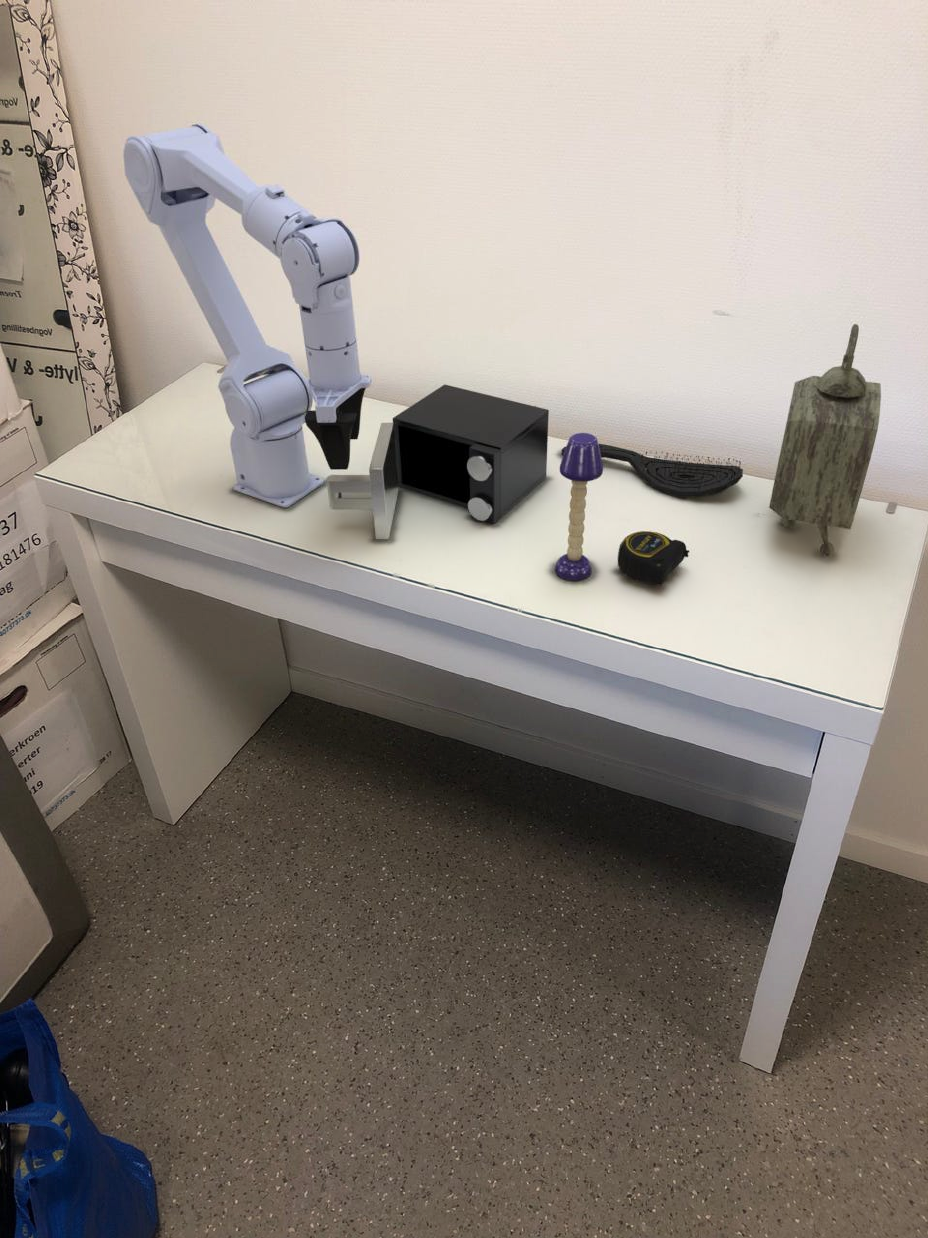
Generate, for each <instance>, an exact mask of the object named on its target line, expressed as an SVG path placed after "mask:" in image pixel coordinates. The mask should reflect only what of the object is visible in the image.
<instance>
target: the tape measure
mask: <svg viewBox="0 0 928 1238" xmlns="http://www.w3.org/2000/svg"><path fill="white" fill-rule="evenodd" d="M689 553H690V549H689V550H688V549H687V546H686V543H685V542H684V541H682V540H678V539H671V538H670V537H669V536H666V535H665V534H662V533H659V532H656V531H651V530H649V531H648V530H644V531H643V530H642V531H641V530H639V531H636V532H633V533H630V534H628V535H627V536H625V537H624V538H623V540H622V541H621V542H620V544H619V547H618V553H617V566H618V568H619V571H620V572H621V573H622V574H623V575H624V576H626V577H627V578H628V579H630V580H632V581H635V582H641V583H646V584H648V585H651V586H662V585H663V584H664V583H665V582H666V581H667V579H668V578H669V575H670V574H672V572H674V571H675V570H676V569H677V568H678V567H679V565H680V564H681V563H682V562H683V561H684V559H685V558H688V557H689Z"/></svg>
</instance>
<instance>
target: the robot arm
mask: <svg viewBox="0 0 928 1238" xmlns="http://www.w3.org/2000/svg"><path fill="white" fill-rule="evenodd" d="M123 164H124V165H123V166H124V176H125V177H126V180H127V182H128V184H129V186H130V188H131V190H132V192H133V194H134V195H135V198H136V200H137V202H138V203H139V206H140V208H141V209H142V211H143V213H144V214H145V216H146V219H147V220H148V222H149V223H151V224H154V225H156V226H158V228H159V230H160V232H161V234H162V236H163V238H164V240H165V242H166V244H167V246H168V248H169V249H170V252H171V254H172V255H173V258H174V259H175V261H176V264H177V266H178V267H179V269H180V271H181V273H182V275H183V277H184V279H185V281H186V283H187V285H188V287H189V289H190V291H191V292H192V294H193V296H194V298H195V300H196V302H197V305H198V306H199V308H200V310H201V312H202V314H203V316H204V318H205V320H206V322H207V324H208V326H209V328H210V330H211V332H212V333H213V335H214V337H215V339H216V341H217V343H218V345H219V347H220V349H221V351H222V353H223V355H224V357H225V358H226V361H227V363H226V366H225V368H224V370H223V373H222V374H221V377H220V379H219V382H218V385H217V388H218V390H219V392H220V396H221V398H222V400H223V403H224V407H225V412H226V415H227V417H228V419H229V422H230V423H231V425H232V427H234V428H233V430H232V432H231V435H230V443H229V447H230V452H231V456H232V461H233V466H234V471H235V472H234V473H235V476H236V482H237V484H235V485H233V490H234V491H236V492H239V493H241V494H244V495H247V496H249V497H253V498H255V499H259V500H261V501H263V502H267V503H270V504H273V505H276V506H278V507H281V508H289V507H290V506H292V505H294V504H295V503H296V502H298V501H300V500H301V499H303V498H304V497H305V496H307V495H309V494H310V493H311V492H313V491H314V490H316V489H317V488H318V487H320V486H322V485H323V484H325V479H324V478H322V477H318V476H316V475H313V474H310V470H309V462H308V456H307V449H306V442H305V435H304V427H303V425H304V424H305V425H306V427H307V428H308V429H309V430H310V431H311V433H312V434H313V436H314V437H315V438H316V440H317V442H318V444H319V445H320V448H321V450H322V453H323V456H324V457H325V461H326V463H327V465H328V467H329V469H330V470H332V471H334V470H335V471H336V470H337V471H339V470H343V471H344V470H349V466H350V460H351V440H358V439H359V435H360V427H361V416H362V415H361V414H362V406H363V399H364V395H365V392H366V389H367V388H370V387H371V385H372V375H368V374H367V375H363V374H362V373H361V370H360V360H359V350H358V341H357V330H356V322H355V313H354V304H353V294H352V286H351V276H352V275H354V274H355V273H356V272H357V271H358V268H359V266H360V265H359V264H360V250H359V245H358V242H357V240H356V237H355V235H354V233H353V232H352V230H351V229H350V227H349V226H347V224H345V222H344V221H343V220H342V219H340V218H334V217H333V218H330V219H325V218H324V217H321V218H318V217H317V216H315V214H314V213H312V212H311V211H309V210H308V209H306V208H305V207H304V206H303V205H301V204H300V203H298V202H297V201H295V200H294V199H293V198H292V197H291V196H289V195H288V194H286V193H285V191H286V190H285V189H284V188H283V187H282V186H280V185H279V184H274V185H273V184H265V185H261V186H259V185H258V184H257V183H256V182H255V181H253V180H252V178H250V177H249V176H248V175H247V173H245V172H244V171H243V170H242V169H241V168H240V167H238V165H236V164H235V163H234V162H233V161H232V160H231V159H230V158H229V157H228V156H227V155H226V154H225V151H224V148H223V144H222V141H221V140H220V137H219V135H218V134H216V133H214V132H212V131H211V130H210V128H209V127H208V126H206V125H205V124H202V123H193V124H192V125H190V126H186V127H181V128H174V129H171V130H165V131H159V132H155V133H149V134H144V135H138V134H136V135H129V137H128V138H127V139H126V141H125V143H124V148H123ZM216 199H217V200H218V201H219V202H221V203H223V204H224V205H226V206H227V207H228V208H230V209H232V210H233V211H234V212H237V213H238V214H239V215H240V216H241V224H242V227H243V229H244V231H245V232H246V233H247V234H248V235H249V236H250V237H251V238H253V239H254V240H255V241H256V242H258V244H260V245H261V246H263V248H265V249H266V250H268V251H269V252H270V253H272V254H273V255H274V256H275V257H277V258H278V259H279V262H280V265H281V268H282V270H283V273H284V275H285V277H286V279H287V280H288V283H289V285H290V289H291V293H292V298H293V299H294V302H295V304H296V305H298V307H299V313H300V321H301V326H302V334H303V343H304V349H305V350H304V351H305V356H306V364H307V369H308V379H307V377H306V376H305V375H304V374H303V373H302V371H300V369H299V368H298V367H297V366H296V364H295V362H294V360H293V359H292V357H291V355H290V354H289V353H288V352H286V351H284V350H281V349H278V348H275V347H273V346H270V345H269V344H267V343H266V341H265V339H264V337H263V336H262V333H261V331H260V329H259V327H258V325H257V323H256V321H255V320H254V319H255V318H254V317H253V316H252V315H253V314H252V313H251V311H250V309H249V307H248V306H247V304H246V301H245V299H244V297H243V295H242V293H241V292H240V289H239V287H238V286H237V283H236V282H235V279H234V277H233V275H232V274H231V271H230V269H229V267H228V265H227V263H226V261H225V260H224V257H223V256H222V253H221V251H220V250H219V247H218V245H217V243H216V241H215V239H214V238H213V235H212V233H211V231H210V230H209V227H208V225H207V223H206V218H207V214H208V213H209V212H210V211H211V210H212V209H213V208H214V207H215V203H216ZM261 376H262V377H261ZM258 377H259V378H258ZM256 378H257V379H256ZM253 379H254V380H253ZM248 381H249V382H248ZM313 402H314V403H315V405H314V408H315V410H312V408H313Z"/></svg>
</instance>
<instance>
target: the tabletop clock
mask: <svg viewBox="0 0 928 1238" xmlns="http://www.w3.org/2000/svg"><path fill="white" fill-rule="evenodd" d="M859 328H860V327H859V325H858V323H854V324H853V325H852V326H851V329H850V335H849V338H848V343H847V348H846V350H845V354H844V355H843V358H842V362H841V365H839V366H833V367H831V368H829V369H828V370H827V371H825V372H824V374H822V376H820V375H811V376H808V377H806V378H803V379H800V380H797V381H795V382H794V384H793V388H792V394H791V399H790V404H789V408H788V414H787V419H786V424H785V429H784V432H783V438H782V442H781V447H780V453H779V455H778V461H777V467H776V471H775V476H774V482H773V487H772V491H771V496H770V500H769V505H768V508H769V509H770V510H771V511H773V512H774V513H775V514H777V515H778V516H779V517H780V518H781V524H782V525H783V526H784V527H785V528H792V527H794V526H795V524H796V522H801V523H809V524H815V525H816V526H817V528H818V530H819V534H820V536H821V537H820V538H821V541H822V544H821V545H820V546H819V552H820V554H821V555H822V556H823V557H830V556H832V555H833V554H834V553H835V546H834V544H832V543H831V542H829V536H828V528H827V527H833V528H838V529H839V528H840V529H846V530H851V528H852V525H853V522H854V519H855V515H856V512H857V509H858V505H859V502H860V499H861V495H862V492H863V489H864V485H865V480H866V476H867V473H868V470H869V466H870V462H871V459H872V454H873V450H874V447H875V442H876V439H877V434H878V429H879V422H880V415H881V401H882V387H881V382H872V381H866V379H865V377H864V376H863V374H862V373H861V372H860V370H859V369H857V368H855V367H853V363H854V359H855V351H856V347H857V342H858V338H859V331H860V329H859Z"/></svg>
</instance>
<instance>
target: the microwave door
mask: <svg viewBox="0 0 928 1238" xmlns="http://www.w3.org/2000/svg"><path fill="white" fill-rule="evenodd" d="M376 437H377V438H376V441H375V445H374V449H373V453H372V457H371V460H370V464H369V468H368V472H369V474H329V475H328V476H326V479H325V480H326V487H327V496H328V504H329V508H330V509H331V510H333V511H349V510H351V511H372V515H373V524H374V526H373V527H374V535H375V540H389V539H390V534H391V530H392V524H393V520H394V516H395V509H396V505H397V500H398V495H399V491H400V487H399V486H398V473H397V460H396V447H395V434H394V423H393V422H381V423H380V426H379V430H378V434H377V436H376Z"/></svg>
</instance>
